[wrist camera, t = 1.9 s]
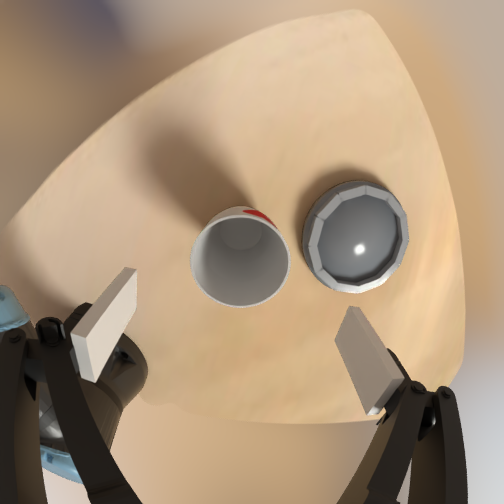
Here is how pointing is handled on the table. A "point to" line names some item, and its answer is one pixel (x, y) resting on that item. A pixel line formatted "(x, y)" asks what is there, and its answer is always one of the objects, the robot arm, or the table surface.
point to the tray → (355, 236)
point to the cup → (240, 258)
